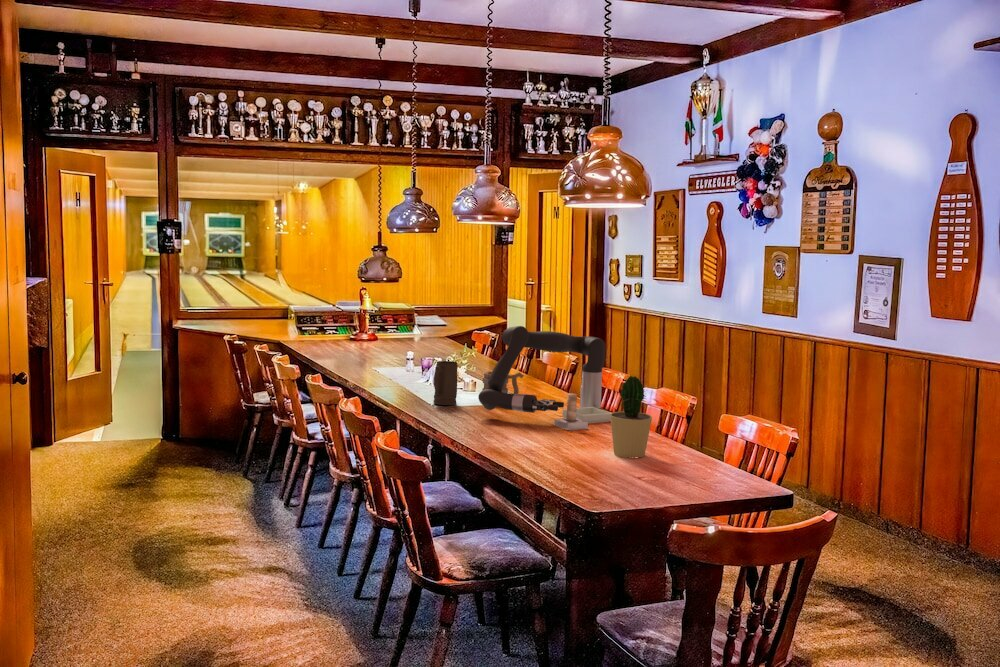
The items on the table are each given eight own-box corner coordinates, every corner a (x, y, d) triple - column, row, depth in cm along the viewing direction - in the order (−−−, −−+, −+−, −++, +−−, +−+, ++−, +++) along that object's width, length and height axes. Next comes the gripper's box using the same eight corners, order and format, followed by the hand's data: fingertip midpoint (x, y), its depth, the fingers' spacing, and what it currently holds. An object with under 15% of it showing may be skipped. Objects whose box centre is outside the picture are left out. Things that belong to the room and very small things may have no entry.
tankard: (478, 403, 440) (478, 371, 438) (486, 398, 452) (487, 368, 450) (518, 406, 434) (519, 374, 433) (525, 402, 446) (526, 371, 445)
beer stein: (439, 401, 441) (440, 359, 439) (460, 403, 438) (461, 361, 436) (426, 406, 427) (427, 363, 425) (447, 408, 423) (449, 365, 421)
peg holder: (554, 425, 393) (554, 418, 392) (574, 424, 398) (574, 417, 397) (567, 430, 384) (567, 423, 384) (587, 428, 389) (587, 421, 389)
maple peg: (564, 426, 392) (565, 393, 390) (572, 426, 394) (573, 393, 392) (569, 428, 388) (570, 395, 387) (577, 427, 390) (578, 394, 389)
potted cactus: (601, 451, 350) (604, 371, 346) (637, 448, 355) (641, 371, 352) (620, 460, 335) (624, 378, 332) (657, 458, 341) (662, 377, 337)
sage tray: (562, 416, 413) (562, 409, 412) (592, 414, 420) (592, 406, 420) (583, 423, 399) (583, 415, 398) (613, 421, 407) (613, 413, 406)
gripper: (519, 396, 390) (556, 400, 385) (530, 391, 404) (566, 395, 398) (518, 414, 391) (555, 418, 385) (529, 408, 404) (565, 412, 399)
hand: (560, 406), depth 392 cm, fingers open, 8 cm apart
